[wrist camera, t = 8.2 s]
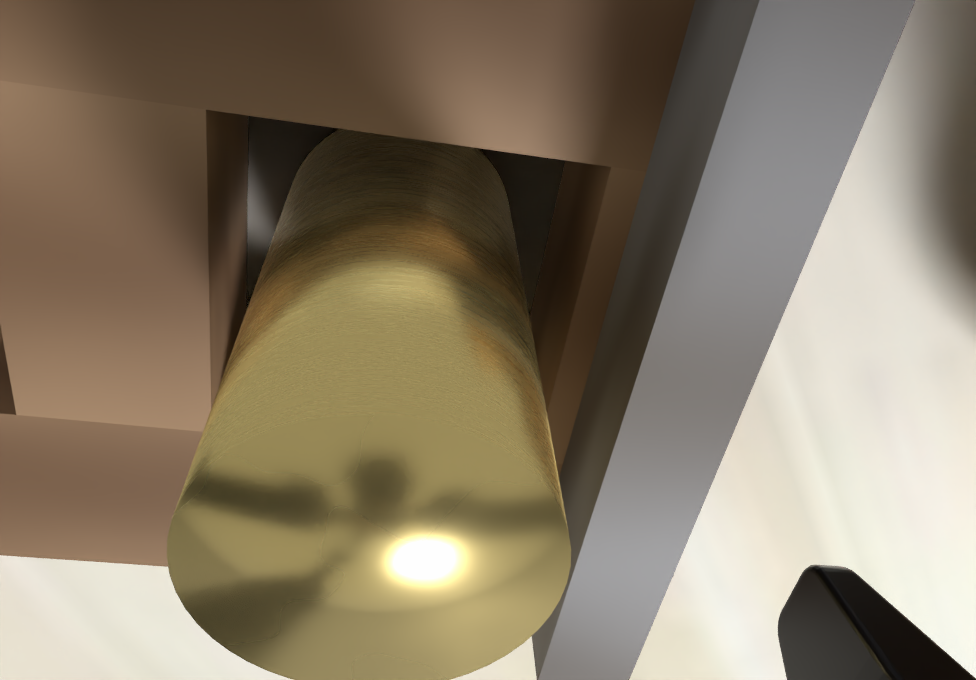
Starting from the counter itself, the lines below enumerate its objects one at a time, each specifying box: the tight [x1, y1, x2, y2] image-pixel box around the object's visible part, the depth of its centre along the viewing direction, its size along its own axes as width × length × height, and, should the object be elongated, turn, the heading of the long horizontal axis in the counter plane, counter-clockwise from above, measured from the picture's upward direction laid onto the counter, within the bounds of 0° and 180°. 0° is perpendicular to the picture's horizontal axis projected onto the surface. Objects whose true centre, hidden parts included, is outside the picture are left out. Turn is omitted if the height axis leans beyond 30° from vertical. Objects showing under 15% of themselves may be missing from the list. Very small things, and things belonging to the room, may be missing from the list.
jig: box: [0, 0, 915, 680], centre depth 12 cm, size 12×18×5 cm, turn 80°
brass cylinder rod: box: [167, 129, 571, 680], centre depth 12 cm, size 4×4×8 cm
